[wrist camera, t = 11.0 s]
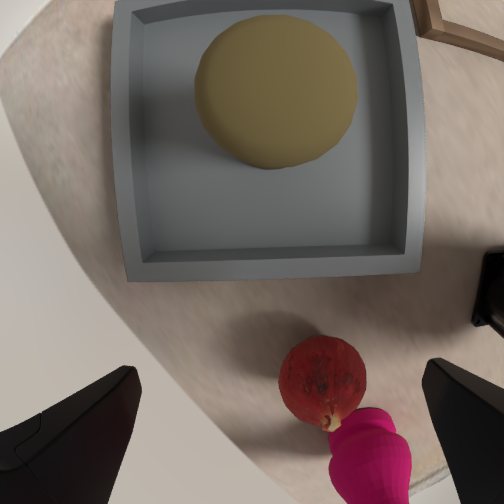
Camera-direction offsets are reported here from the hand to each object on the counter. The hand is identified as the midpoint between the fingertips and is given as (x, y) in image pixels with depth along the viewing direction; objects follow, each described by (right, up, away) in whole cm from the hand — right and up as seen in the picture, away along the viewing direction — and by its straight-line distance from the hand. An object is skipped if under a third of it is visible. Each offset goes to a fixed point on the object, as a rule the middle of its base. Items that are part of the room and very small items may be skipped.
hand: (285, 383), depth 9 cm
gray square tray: (0, +12, +10) cm, 15 cm away
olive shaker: (0, +12, +10) cm, 15 cm away
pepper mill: (+9, -13, +17) cm, 23 cm away
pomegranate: (+4, -3, +15) cm, 16 cm away
